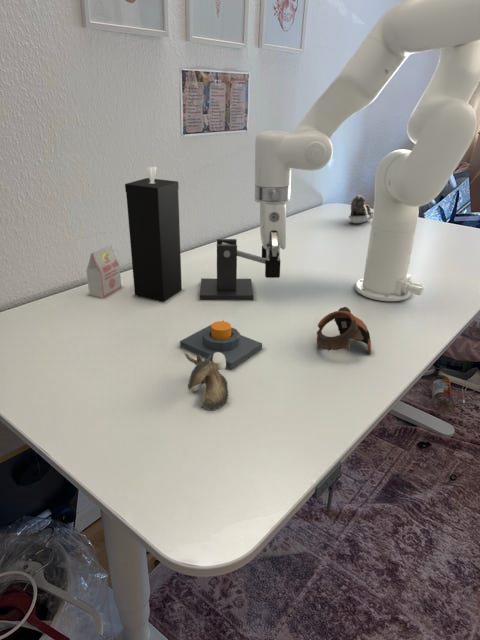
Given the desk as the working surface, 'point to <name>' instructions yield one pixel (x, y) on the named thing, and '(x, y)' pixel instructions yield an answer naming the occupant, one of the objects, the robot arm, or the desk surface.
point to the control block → (222, 346)
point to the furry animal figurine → (210, 380)
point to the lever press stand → (226, 276)
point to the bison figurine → (360, 210)
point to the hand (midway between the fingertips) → (270, 269)
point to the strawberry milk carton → (103, 273)
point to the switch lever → (250, 256)
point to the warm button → (221, 330)
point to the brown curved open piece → (343, 331)
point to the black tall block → (154, 236)
